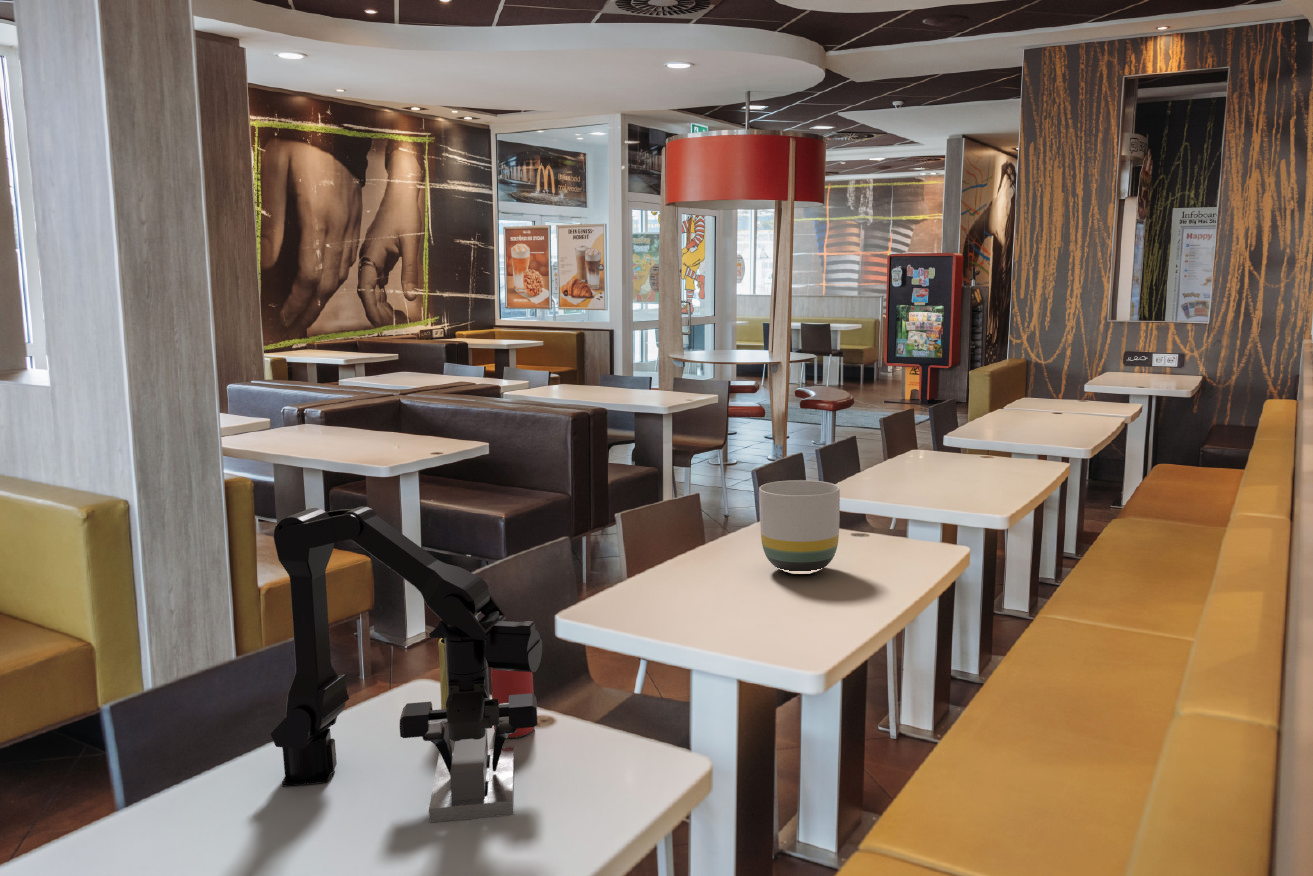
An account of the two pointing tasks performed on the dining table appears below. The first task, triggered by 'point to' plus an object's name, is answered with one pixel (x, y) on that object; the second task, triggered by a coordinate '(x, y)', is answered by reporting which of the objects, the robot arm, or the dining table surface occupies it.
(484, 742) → the grey rectangular block
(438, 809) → the mount plate
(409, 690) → the dining table surface
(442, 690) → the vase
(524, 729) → the beer can
